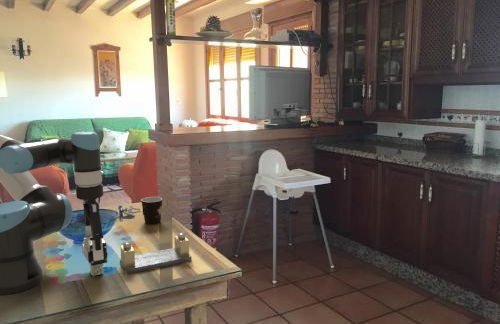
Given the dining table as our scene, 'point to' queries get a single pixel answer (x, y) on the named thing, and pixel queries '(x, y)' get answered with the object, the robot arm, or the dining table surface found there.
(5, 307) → the dining table surface
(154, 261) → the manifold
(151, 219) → the coffee mug
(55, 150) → the robot arm
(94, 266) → the pneumatic valve
